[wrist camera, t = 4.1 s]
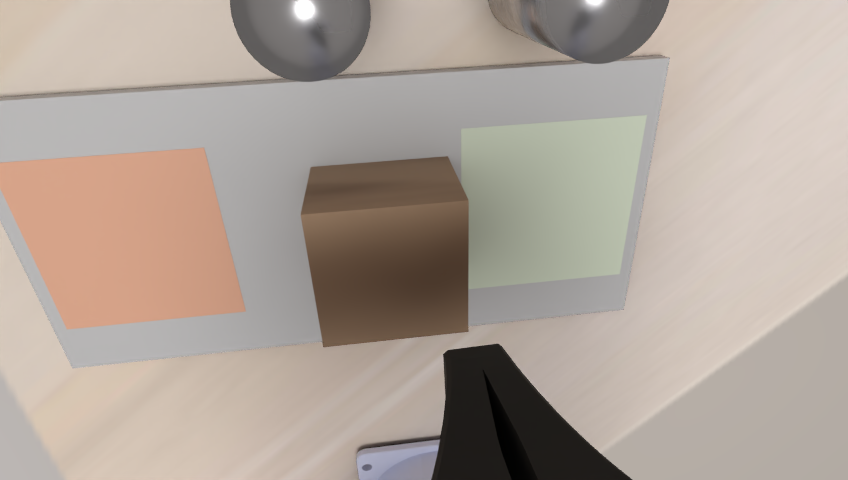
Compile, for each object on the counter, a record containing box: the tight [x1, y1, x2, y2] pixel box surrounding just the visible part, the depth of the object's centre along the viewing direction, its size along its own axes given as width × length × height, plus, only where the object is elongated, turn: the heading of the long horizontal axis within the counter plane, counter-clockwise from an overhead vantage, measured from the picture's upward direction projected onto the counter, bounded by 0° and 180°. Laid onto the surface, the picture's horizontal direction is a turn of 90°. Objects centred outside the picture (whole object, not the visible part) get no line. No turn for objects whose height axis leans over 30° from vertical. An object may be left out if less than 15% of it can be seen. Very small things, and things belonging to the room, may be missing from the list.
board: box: [0, 55, 670, 368], centre depth 20 cm, size 11×24×1 cm, turn 92°
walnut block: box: [301, 156, 469, 347], centre depth 18 cm, size 5×5×4 cm
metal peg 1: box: [230, 0, 371, 82], centre depth 14 cm, size 3×3×6 cm
